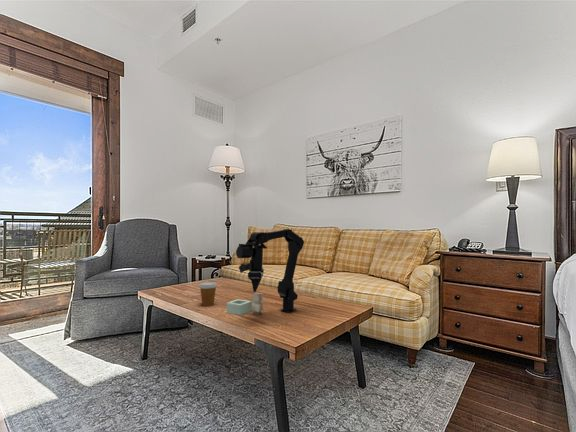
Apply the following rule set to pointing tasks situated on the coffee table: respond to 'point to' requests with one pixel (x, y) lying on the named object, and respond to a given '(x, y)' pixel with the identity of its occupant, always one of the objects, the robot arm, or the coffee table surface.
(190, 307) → the coffee table surface
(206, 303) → the disposable coffee cup
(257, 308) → the beige rectangular block
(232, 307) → the green square frame
